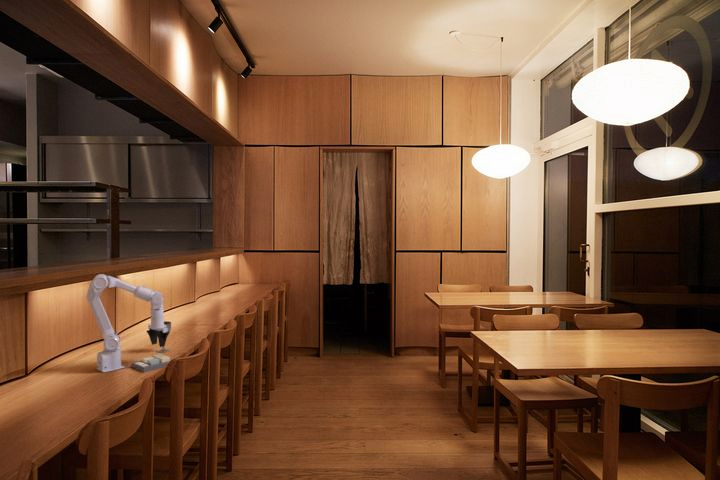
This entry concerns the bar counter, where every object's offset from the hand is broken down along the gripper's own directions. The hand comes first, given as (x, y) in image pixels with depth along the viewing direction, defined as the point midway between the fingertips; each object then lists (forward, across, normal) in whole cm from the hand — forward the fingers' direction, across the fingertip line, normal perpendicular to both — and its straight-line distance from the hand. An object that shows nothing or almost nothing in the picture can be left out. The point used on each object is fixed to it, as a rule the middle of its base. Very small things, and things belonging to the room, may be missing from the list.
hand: (158, 345), depth 218 cm
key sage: (+7, 0, 0) cm, 7 cm away
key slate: (+7, -5, +5) cm, 10 cm away
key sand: (+7, -5, 0) cm, 9 cm away
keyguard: (+8, -3, +4) cm, 10 cm away
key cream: (+7, 0, +5) cm, 9 cm away
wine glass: (+9, +18, -12) cm, 24 cm away
